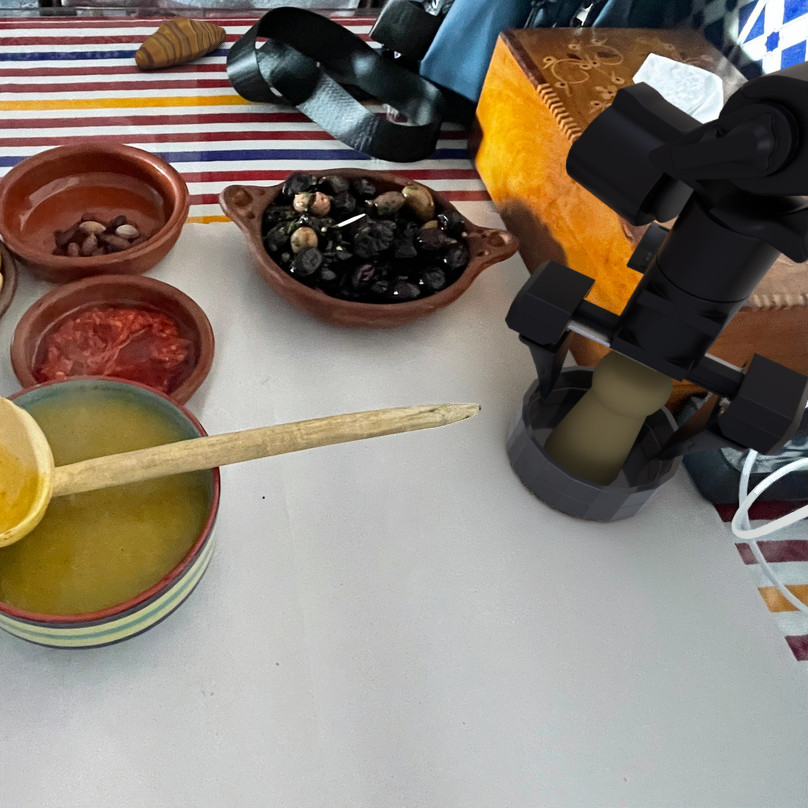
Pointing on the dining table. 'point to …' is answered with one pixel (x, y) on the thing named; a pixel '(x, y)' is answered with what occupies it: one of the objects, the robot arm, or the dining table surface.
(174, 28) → the croissant
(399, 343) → the dining table surface
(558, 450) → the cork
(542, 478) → the dark grey faceted bowl
